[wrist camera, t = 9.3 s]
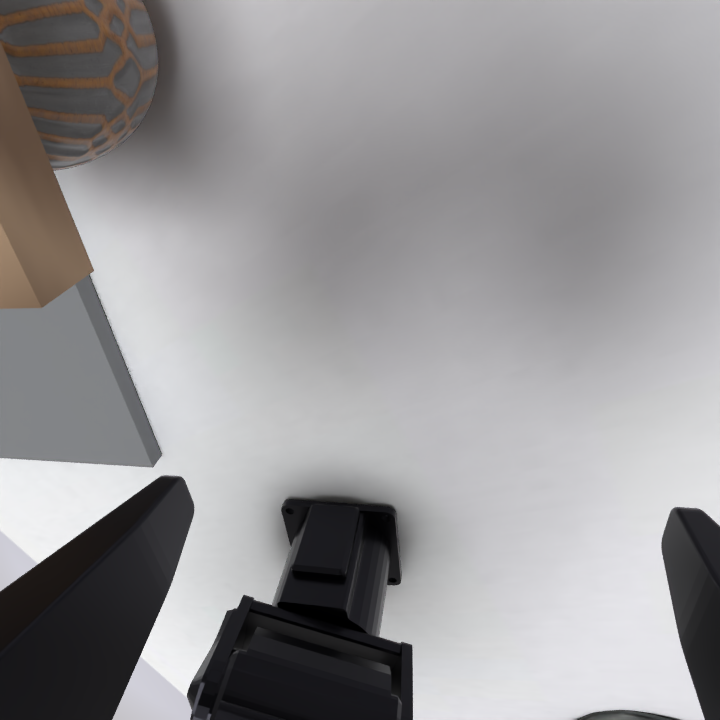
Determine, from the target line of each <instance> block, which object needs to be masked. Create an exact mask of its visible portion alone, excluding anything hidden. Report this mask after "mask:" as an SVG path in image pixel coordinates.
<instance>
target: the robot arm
mask: <svg viewBox="0 0 720 720" xmlns="http://www.w3.org/2000/svg"><path fill="white" fill-rule="evenodd" d="M281 511H282V515H283V518H284V522H285V526H286V530H287V534H288V538H289V541H290V545H291V549H290V552H289V555H288V558H287V561H286V564H285V567H284V570H283V573H282V576H281V579H280V582H279V585H278V588H277V591H276V594H275V597H274V600H273V603H272V605H269V604H266V603H263V602H259V601H256V600H254V598H253V597H249V596H246V595H243V597H242V600H241V602H240V604H239V606H238V608H237V609H235V608H234V609H233V610H229V611H227V613H226V615H225V618H224V620H223V623H222V625H221V628H220V630H219V632H218V635H217V637H216V639H215V641H214V644H213V645H212V647H211V649H210V651H209V653H208V654H207V656H206V658H205V660H204V661H203V663H202V665H201V666H200V668H199V670H198V672H197V673H196V675H195V677H194V679H193V680H192V682H191V684H190V687H189V690H188V693H187V698H188V700H189V703H190V706H191V709H192V714H191V718H190V720H413V666H412V645H411V644H408V643H404V642H401V643H397V642H394V641H390V640H387V639H384V638H380V637H379V634H380V627H381V620H382V614H383V607H384V600H385V594H386V587H387V585H398V584H400V583H401V576H402V574H401V563H400V552H399V540H398V529H397V518H396V512H395V510H394V509H392V508H390V507H385V506H371V505H357V504H343V503H329V502H315V501H301V500H286V501H285V502H284V503H283V506H282V510H281ZM193 515H194V503H193V500H192V498H191V495H190V492H189V490H188V487H187V485H186V482H185V480H184V479H183V478H182V477H180V476H169V475H164V476H161V477H159V478H158V479H156V480H155V481H153V482H152V483H151V484H149V485H148V486H146V487H145V488H144V489H142V490H141V491H139V492H138V493H137V494H135V495H134V496H132V497H131V498H130V499H128V500H127V501H125V502H124V503H123V504H121V505H120V506H119V507H117V508H116V509H114V510H113V511H112V512H110V513H109V514H107V515H106V516H105V517H103V518H102V519H100V520H99V521H98V522H96V523H95V524H93V525H92V526H91V527H89V528H88V529H86V530H85V531H84V532H82V533H81V534H80V535H78V536H77V537H75V538H74V539H73V540H71V541H70V542H68V543H67V544H66V545H64V546H63V547H61V548H60V549H59V550H57V551H56V552H54V553H53V554H52V555H50V556H49V557H47V558H46V559H45V560H43V561H42V562H41V563H39V564H38V565H36V566H35V567H34V568H32V569H31V570H29V571H28V572H27V573H25V574H24V575H22V576H21V577H20V578H18V579H17V580H16V581H14V582H13V583H11V584H10V585H9V586H7V587H6V588H4V589H3V590H2V591H0V720H112V719H113V716H114V714H115V712H116V710H117V707H118V705H119V703H120V700H121V698H122V696H123V694H124V691H125V689H126V687H127V685H128V682H129V680H130V678H131V675H132V673H133V671H134V669H135V666H136V664H137V662H138V659H139V657H140V655H141V653H142V650H143V648H144V646H145V644H146V641H147V639H148V637H149V634H150V632H151V630H152V628H153V625H154V623H155V621H156V618H157V616H158V614H159V612H160V609H161V607H162V605H163V603H164V600H165V598H166V596H167V593H168V591H169V588H170V586H171V583H172V580H173V577H174V574H175V571H176V568H177V565H178V562H179V559H180V556H181V553H182V550H183V547H184V543H185V540H186V537H187V534H188V531H189V528H190V525H191V522H192V519H193ZM385 515H386V516H385ZM662 555H663V560H664V565H665V570H666V575H667V580H668V585H669V590H670V595H671V600H672V605H673V610H674V615H675V620H676V624H677V629H678V634H679V638H680V642H681V646H682V649H683V653H684V656H685V659H686V662H687V666H688V669H689V672H690V675H691V678H692V681H693V684H694V687H695V690H696V693H697V697H698V700H699V703H700V706H701V709H702V712H703V715H704V718H705V720H720V526H719V525H718V524H717V523H716V522H715V521H714V520H713V519H712V518H710V517H709V516H708V515H707V514H706V513H705V512H704V511H702V510H700V509H697V508H684V507H675V508H673V509H672V510H671V512H670V515H669V518H668V521H667V524H666V527H665V530H664V534H663V537H662Z"/></svg>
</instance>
